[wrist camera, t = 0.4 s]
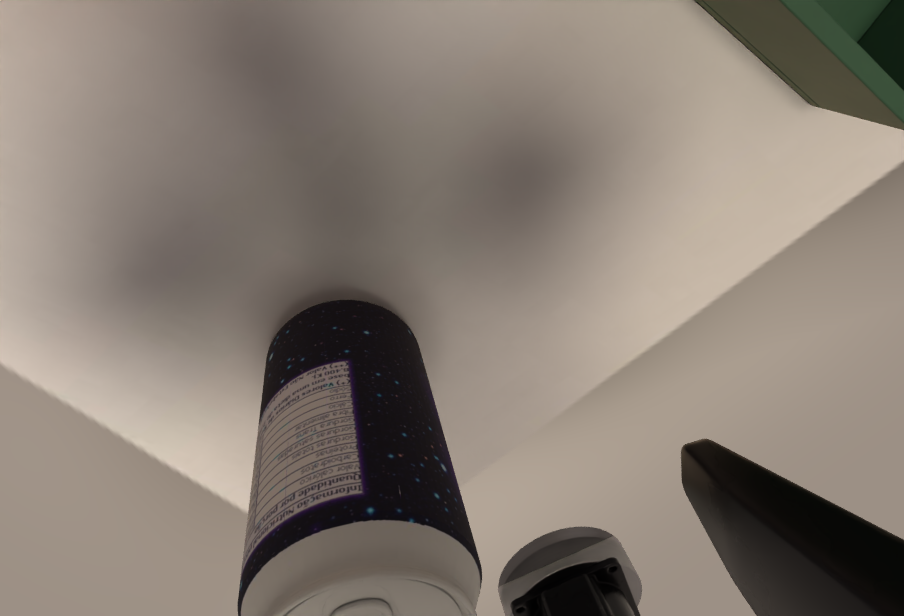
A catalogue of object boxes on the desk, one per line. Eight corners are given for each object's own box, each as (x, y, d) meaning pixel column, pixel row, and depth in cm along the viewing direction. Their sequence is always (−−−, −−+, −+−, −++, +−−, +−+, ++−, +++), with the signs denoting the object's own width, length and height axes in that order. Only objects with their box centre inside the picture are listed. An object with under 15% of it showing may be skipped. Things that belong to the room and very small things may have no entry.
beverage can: (287, 425, 25) (270, 753, 14) (249, 304, 22) (193, 604, 11) (425, 396, 25) (503, 689, 15) (406, 275, 22) (485, 533, 12)
